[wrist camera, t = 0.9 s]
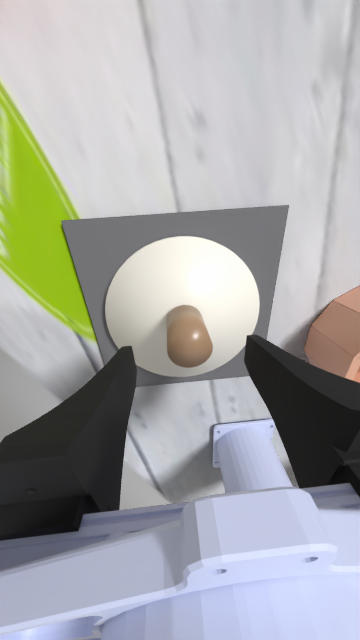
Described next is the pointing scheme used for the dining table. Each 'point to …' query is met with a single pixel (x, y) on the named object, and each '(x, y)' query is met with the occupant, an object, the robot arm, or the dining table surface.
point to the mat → (138, 231)
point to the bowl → (337, 337)
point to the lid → (182, 306)
